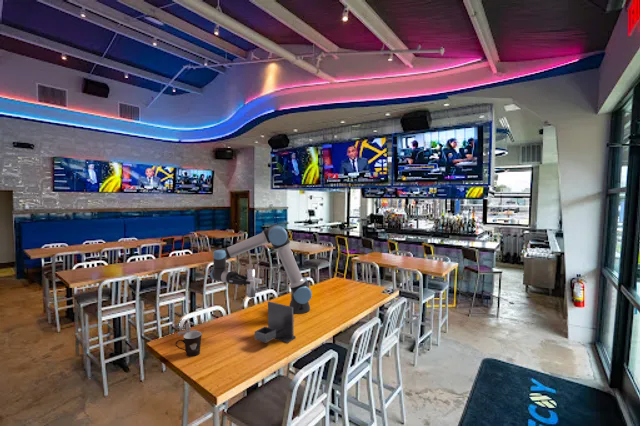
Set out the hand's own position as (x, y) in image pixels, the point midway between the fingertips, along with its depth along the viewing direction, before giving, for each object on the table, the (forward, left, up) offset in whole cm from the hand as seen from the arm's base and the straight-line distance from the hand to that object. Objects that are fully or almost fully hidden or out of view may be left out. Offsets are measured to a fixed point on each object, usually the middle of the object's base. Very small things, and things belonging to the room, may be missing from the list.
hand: (257, 282), depth 176 cm
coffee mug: (+34, -15, -32) cm, 49 cm away
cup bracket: (0, +11, -31) cm, 33 cm away
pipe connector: (+26, -29, -32) cm, 50 cm away
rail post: (0, -5, -9) cm, 10 cm away
